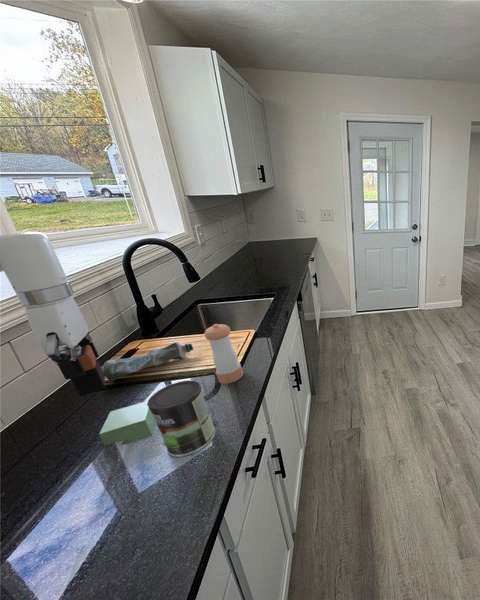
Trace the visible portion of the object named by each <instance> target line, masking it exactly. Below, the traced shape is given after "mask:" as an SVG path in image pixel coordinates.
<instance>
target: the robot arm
mask: <svg viewBox="0 0 480 600" xmlns="http://www.w3.org/2000/svg"><path fill="white" fill-rule="evenodd" d="M56 253H57V252H56V251H55V249H54V247H53V245H52V243H51V241H50V238H48V236H47V235H45V234H44V233H42V232H38V231H30V232H29V231H27V232H16V233H8V234H0V273H1V272H4V274H5V276H6V278H7V279H8V282H9V283H10V285H11V287H12V289H13V291H14V293H15V295H16V296H17V298H18V300H19V302H20V303H21V305H22V307H23V308H24V310H25V313H26V317H27V321H28V324H29V326H30V329H31V331H32V333H33V336H34V338H35V341H36V342H37V344H38V346H39V349H40V350H41V352H42V353H43V354H45V355H46V357H48V358H50V360H51V361H53V362H54V363H55V365H57V366H58V368H59V371H60V372H61V374H62V375H63V377H64V379H65V380H71V379H72V378H76V377H80V376H84V375H85V374H86V372H85V370H84V368H83V366H82V364H81V362H80V360H79V358H77V359H76V358H75V352H74V347H75V346H76V345H80V347H82V346H86V345H90V346H91V348H92V350H93V353H94V355H95V357H96V359H98V358H99V357H100V355H99V353H98V351H97V348H96V345H95V344H94V341H93V338H92V336H90V329H89V325H88V323H87V320H86V318H85V317H84V315H83V313H82V311H81V308H80V307H79V305H78V303H77V302H76V301H75V297H76V294H75V292H74V289H73V288H72V286H71V284H70V283H71V282H70V281H69V279H68V277H67V275H66V272H65V271H64V269H63V266H62V265H61V262H60V260H59V258H58V255H57V254H56ZM67 350H68V355H67V354H65V351H67Z"/></svg>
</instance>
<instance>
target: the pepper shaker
mask: <svg viewBox="0 0 480 600" xmlns="http://www.w3.org/2000/svg"><path fill="white" fill-rule="evenodd" d="M230 334H231V327H230V326H229V325H227V324H224V323H223V324H221V323H220V324H218V323H214V324H213V325H212V326H209V327H207V329H206V330H205V331H204V338H205V339H206V340H208V341H209V344H210V347H211V351H212V358H213V359H212V361H213V364H214V366H215V374H216V378H217V381H218V383H219V384H221V385H229V384H232V383H235V382H238V381H239V380H240V379H242V378H243V376H244V371H243V367H242V365H241V363H240V362H239V358H238V354H237V353H236V351H235V349H234V347H233V345H232V344H233V343H232V341H231V338H230Z"/></svg>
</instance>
